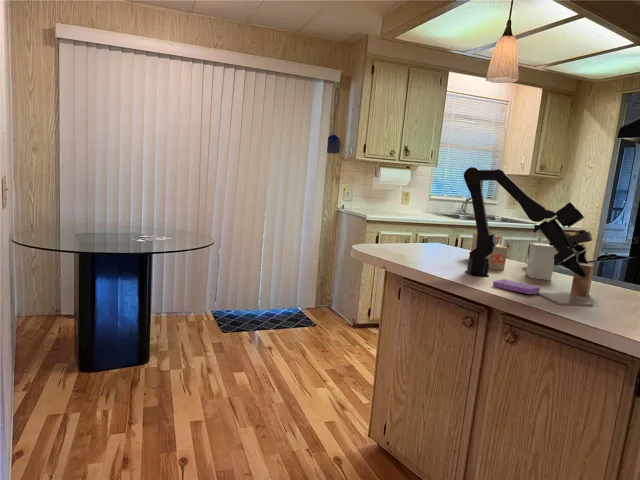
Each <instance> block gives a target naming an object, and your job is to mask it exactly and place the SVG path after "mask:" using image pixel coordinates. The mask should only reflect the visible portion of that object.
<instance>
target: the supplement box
mask: <svg viewBox="0 0 640 480" xmlns="http://www.w3.org/2000/svg"><path fill="white" fill-rule="evenodd" d="M556 252H557V251H556V250H555V248H554V247H553V246H550V245H549V243H542V242H541V243H540V242H530V250H529V257H528V256H527V266H526V270H525V271H526V272H525V275H527V276H528V277H529V278H530V279H535V278H536V279H537V280H543V279H544V280H545V281H551V280H552V278H553V277H552V276H553V271H554V266H555V265H554V264H555V260H554V255H556V254H557V253H556ZM536 279H535V280H536Z"/></svg>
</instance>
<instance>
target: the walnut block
mask: <svg viewBox="0 0 640 480" xmlns="http://www.w3.org/2000/svg"><path fill="white" fill-rule="evenodd" d="M579 264H580V265H581V267H582V269H583V270H584V272H585V274H586V276H585V277H581V276H580V275H578V274H576V273H574V272H573V278H572V283H571V289H570V295H572V294H573V295H577V296H581V297H584V298H586V297H588V296H589V295H590V289H591V285H592V280H593V274H594V269H595V264H590V263H588V264H585V263H580V262H579Z"/></svg>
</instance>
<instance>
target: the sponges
mask: <svg viewBox="0 0 640 480" xmlns="http://www.w3.org/2000/svg"><path fill="white" fill-rule="evenodd" d="M492 287H495V288H498V289H504V290H508V291H513V292H517V293H522V294H528V295H533V294H536V293H538V292H540V293H541V290H540V289H541V287H540V286H536V285H531V284H527V283H522V282H518V281H515V280H514V281H513V280H511V279H510V280H508V279H505V278H501V279H498V280H494V281H493V282H492Z"/></svg>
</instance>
